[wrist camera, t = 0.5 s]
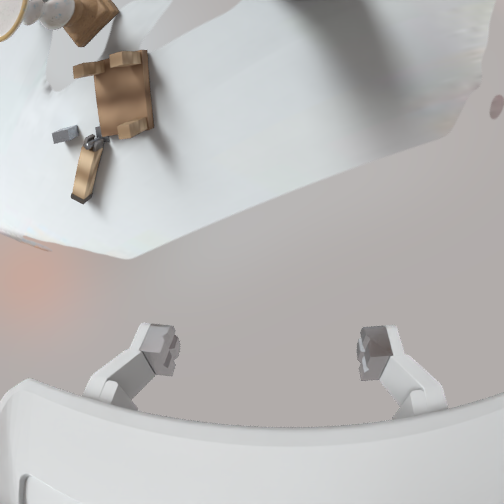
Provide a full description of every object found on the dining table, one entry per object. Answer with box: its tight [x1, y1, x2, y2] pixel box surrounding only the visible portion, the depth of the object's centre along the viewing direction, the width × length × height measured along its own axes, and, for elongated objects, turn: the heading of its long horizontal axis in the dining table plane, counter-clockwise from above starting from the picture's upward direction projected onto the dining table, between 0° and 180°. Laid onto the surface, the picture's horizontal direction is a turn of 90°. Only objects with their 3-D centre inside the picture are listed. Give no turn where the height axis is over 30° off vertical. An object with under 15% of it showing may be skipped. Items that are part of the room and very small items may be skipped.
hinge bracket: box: [84, 126, 109, 150], centre depth 50 cm, size 4×3×5 cm
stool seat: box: [73, 50, 154, 139], centre depth 43 cm, size 16×11×9 cm
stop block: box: [52, 125, 79, 144], centre depth 51 cm, size 2×5×4 cm, turn 91°
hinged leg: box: [71, 134, 104, 204], centre depth 55 cm, size 15×4×4 cm, turn 151°
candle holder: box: [0, 0, 119, 47], centre depth 27 cm, size 11×11×24 cm
